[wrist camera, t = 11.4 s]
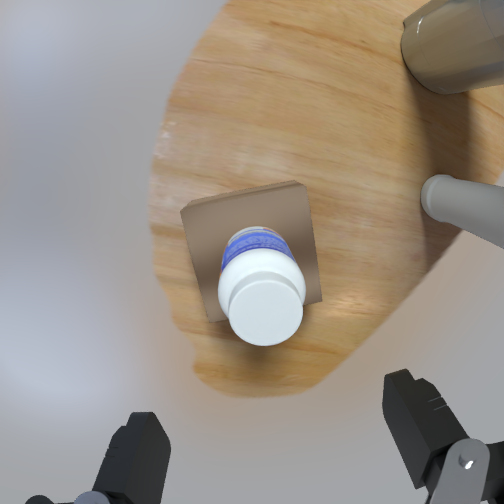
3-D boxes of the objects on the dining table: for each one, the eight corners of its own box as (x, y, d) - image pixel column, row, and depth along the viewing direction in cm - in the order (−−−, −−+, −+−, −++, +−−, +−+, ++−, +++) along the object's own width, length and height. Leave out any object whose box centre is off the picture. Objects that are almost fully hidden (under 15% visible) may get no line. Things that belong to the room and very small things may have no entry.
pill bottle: (210, 245, 25) (192, 297, 16) (270, 212, 25) (287, 247, 15) (244, 299, 27) (245, 371, 18) (301, 269, 26) (330, 330, 17)
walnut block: (191, 200, 30) (180, 211, 25) (294, 180, 30) (305, 186, 24) (215, 294, 33) (209, 322, 27) (309, 276, 33) (322, 301, 27)
